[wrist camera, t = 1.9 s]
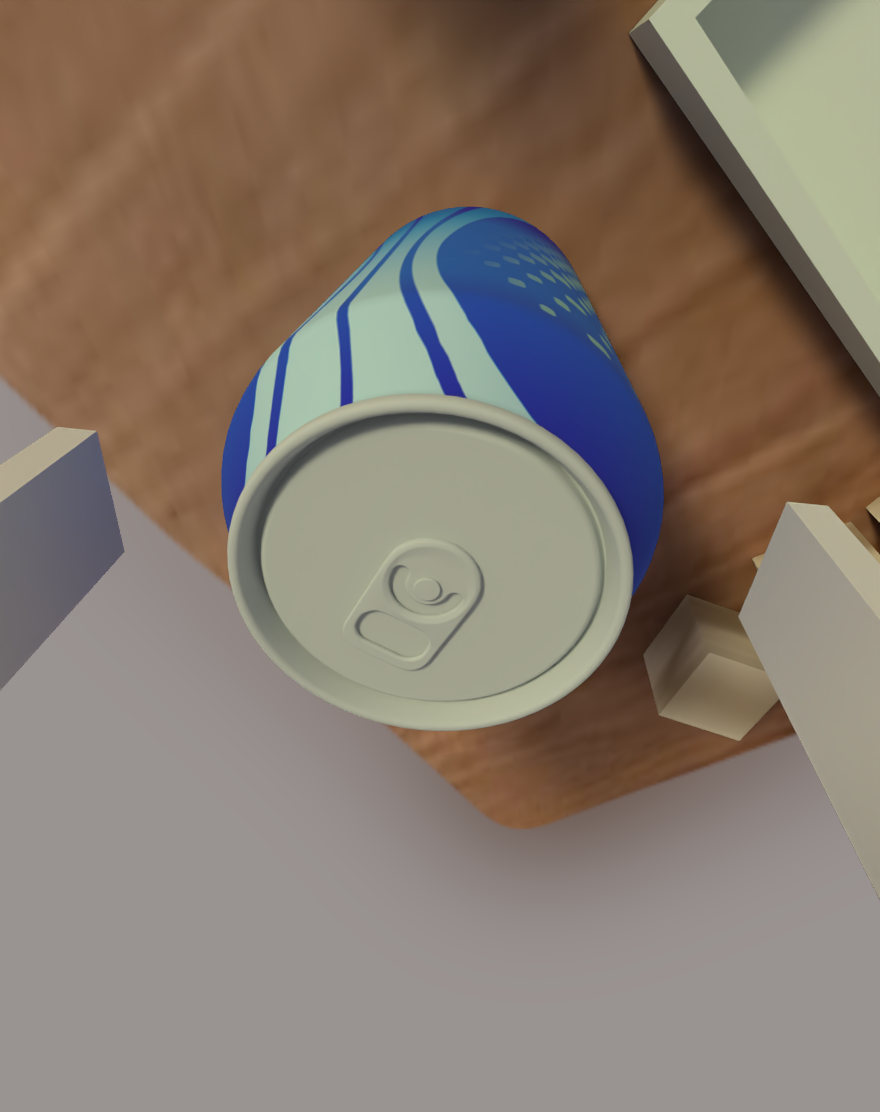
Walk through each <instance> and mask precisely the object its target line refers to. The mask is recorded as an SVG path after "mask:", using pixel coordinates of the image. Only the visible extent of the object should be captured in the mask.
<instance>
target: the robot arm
mask: <svg viewBox="0 0 880 1112" xmlns="http://www.w3.org/2000/svg"><path fill="white" fill-rule="evenodd" d="M123 553H124V548H123V543H122V539H121V535H120V530H119V526H118V521H117V517H116V513H115V508H114V504H113V500H112V495H111V491H110V487H109V482H108V478H107V473H106V469H105V465H104V460H103V456H102V452H101V447H100V443H99V439H98V434H97V431H91V430H82V429H72V428H62V427H57V428H55V429H54V430H52V431H51V432H49V433H48V434H46V435H45V436H43V437H42V438H40V439H39V440H37V441H36V442H34V443H33V444H31V445H30V446H28V447H27V448H25V449H24V450H22V451H21V452H19V453H18V454H16V455H15V456H13V457H12V458H10V459H9V460H8V461H6V462H4V463H3V464H1V465H0V690H1V689H2V688H3V687H4V686H5V684H7V682H8V681H9V680H10V679H11V678H12V677H13V676H14V675H15V673H16V672H17V671H18V670H19V669H20V668H21V667H22V666H23V665H24V663H25V662H26V661H27V660H28V659H29V658H30V657H31V656H32V654H33V653H34V652H35V651H36V650H37V649H38V648H39V647H40V646H41V644H42V643H43V642H44V641H45V640H46V639H47V638H48V637H49V635H50V634H51V633H52V632H53V631H54V630H55V629H56V628H57V626H58V625H59V624H60V623H61V622H62V621H63V620H64V619H65V617H66V616H67V615H68V614H69V613H70V612H71V611H72V610H73V609H74V607H75V606H76V605H77V604H78V603H79V602H80V601H81V600H82V598H83V597H84V596H85V595H86V594H87V593H88V592H89V591H90V590H91V588H92V587H93V586H94V585H95V584H96V583H97V582H98V581H99V579H100V578H101V577H102V576H103V575H104V574H105V573H106V571H108V569H109V568H110V567H111V566H112V565H113V564H114V563H115V561H116V560H117V559H118V558H119V557H120V556H121V555H122V554H123ZM738 617H739V619H740V621H741V623H742V625H743V627H744V629H745V631H746V633H747V635H748V637H749V639H750V641H751V643H752V645H753V647H754V649H755V651H756V653H757V655H758V657H759V659H760V661H761V663H762V665H763V667H764V669H765V671H766V673H767V675H768V677H769V679H770V681H771V683H772V685H773V687H774V689H775V691H776V693H777V695H778V697H779V699H780V701H781V703H782V705H783V707H784V709H785V711H786V713H787V715H788V717H789V719H790V721H791V723H792V725H793V727H794V729H795V731H796V733H797V735H798V737H799V739H800V741H801V743H802V745H803V747H804V749H805V751H806V753H807V755H808V757H809V760H810V761H811V764H812V766H813V767H814V770H815V772H816V773H817V775H818V777H819V780H820V782H821V784H822V785H823V787H824V790H825V792H826V794H827V795H828V797H829V799H830V802H831V803H832V805H833V808H834V810H835V812H836V814H837V816H838V818H839V819H840V821H841V824H842V826H843V828H844V830H845V832H846V834H847V836H848V838H849V840H850V842H851V844H852V846H853V848H854V850H855V852H856V854H857V856H858V858H859V860H860V862H861V864H862V866H863V868H864V870H865V872H866V874H867V876H868V878H869V880H870V882H871V884H872V886H873V888H874V890H875V892H876V894H877V896H878V898H879V900H880V564H879V563H878V561H877V560H876V559H875V558H874V557H873V556H872V555H871V554H870V552H869V551H868V550H867V549H866V548H865V547H864V546H863V545H862V543H861V542H860V541H859V540H858V539H857V538H856V537H855V536H854V534H853V533H852V532H851V531H850V530H849V529H848V528H847V527H846V525H845V524H844V523H843V522H842V521H841V520H840V519H839V518H838V516H837V515H836V514H835V513H834V512H833V511H832V510H831V509H830V507H829V506H823V505H814V504H804V503H794V502H787V503H786V505H785V508H784V510H783V512H782V515H781V517H780V519H779V522H778V524H777V527H776V529H775V531H774V534H773V536H772V538H771V541H770V543H769V545H768V548H767V550H766V553H765V555H764V557H763V560H762V562H761V564H760V567H759V569H758V571H757V574H756V576H755V579H754V581H753V583H752V586H751V588H750V590H749V593H748V595H747V597H746V600H745V602H744V605H743V607H742V609H741V612H740V614H739V616H738Z"/></svg>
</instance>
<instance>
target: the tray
mask: <svg viewBox="0 0 880 1112" xmlns="http://www.w3.org/2000/svg"><path fill="white" fill-rule="evenodd" d="M629 35H630V36H631V38H632V39H633V41H634V42H635V43H636V45H637V46H638V48H639V49H640V51H641V52H642V54H643V55H644V56H645V58H646V59H647V61H648V62H649V64H650V65H651V67H652V68H653V69H654V71H655V72H656V74H657V75H658V77H659V78H660V80H661V81H662V83H663V84H664V85H665V87H666V88H667V90H668V91H669V93H670V94H671V96H672V97H673V98H674V100H675V101H676V103H677V104H678V106H679V107H680V109H681V110H682V111H683V113H684V114H685V116H686V117H687V119H688V120H689V122H690V123H691V125H692V126H693V127H694V129H695V130H696V132H697V133H698V135H699V136H700V138H701V139H702V140H703V142H704V143H705V145H706V146H707V148H708V149H709V151H710V152H711V154H712V155H713V156H714V158H715V159H716V161H717V162H718V164H719V165H720V167H721V168H722V169H723V171H724V172H725V174H726V175H727V177H728V178H729V180H730V181H731V182H732V184H733V185H734V187H735V188H736V190H737V191H738V193H739V194H740V196H741V197H742V198H743V200H744V201H745V203H746V204H747V206H748V207H749V209H750V210H751V211H752V213H753V214H754V216H755V217H756V219H757V220H758V222H759V223H760V224H761V226H762V227H763V229H764V230H765V232H766V233H767V235H768V236H769V238H770V239H771V240H772V242H773V243H774V245H775V246H776V248H777V249H778V251H779V252H780V253H781V255H782V256H783V258H784V259H785V261H786V262H787V264H788V265H789V267H790V268H791V269H792V271H793V272H794V274H795V275H796V277H797V278H798V280H799V281H800V282H801V284H802V285H803V287H804V288H805V290H806V291H807V293H808V294H809V295H810V297H811V298H812V300H813V301H814V303H815V304H816V306H817V307H818V309H819V310H820V311H821V313H822V314H823V316H824V317H825V319H826V320H827V322H828V323H829V324H830V326H831V327H832V329H833V330H834V332H835V333H836V335H837V336H838V337H839V339H840V340H841V342H842V343H843V345H844V346H845V348H846V349H847V351H848V352H849V353H850V355H851V356H852V358H853V359H854V361H855V362H856V364H857V365H858V366H859V368H860V369H861V371H862V372H863V374H864V375H865V377H866V378H867V380H868V381H869V382H870V384H871V385H872V387H873V388H874V390H875V391H876V393H877V394H878V395H879V397H880V0H658V1H657V2H656V3H655V4H654V6H653V7H652V8H651V9H650V10H649V11H648V12H647V13H646V15H645V16H644V17H643V18H642V19H641V20H640V21H639V22H638V23H637V25H636V26H635V27H634V28H633V29H632V30H631V31H630V32H629Z"/></svg>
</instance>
